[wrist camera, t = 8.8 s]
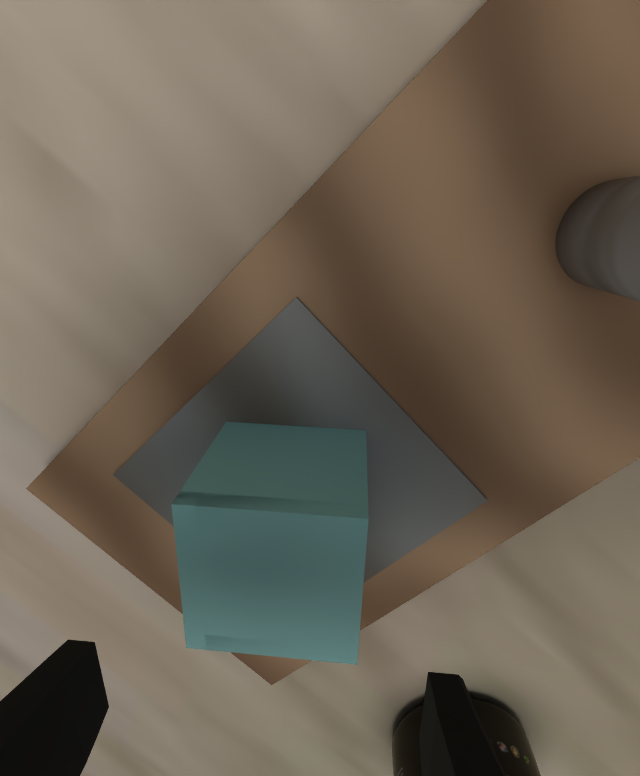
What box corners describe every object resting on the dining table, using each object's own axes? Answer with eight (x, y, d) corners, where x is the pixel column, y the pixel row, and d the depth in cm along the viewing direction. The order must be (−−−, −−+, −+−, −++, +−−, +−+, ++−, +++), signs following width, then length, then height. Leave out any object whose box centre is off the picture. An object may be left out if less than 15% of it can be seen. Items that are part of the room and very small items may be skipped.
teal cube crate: (365, 430, 16) (368, 518, 11) (357, 545, 18) (357, 664, 13) (226, 421, 16) (171, 504, 11) (231, 535, 18) (186, 647, 13)
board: (741, -257, 11) (1040, -632, 6) (975, 207, 13) (1305, 200, 9) (50, 469, 20) (-48, 548, 15) (277, 655, 22) (255, 771, 18)
